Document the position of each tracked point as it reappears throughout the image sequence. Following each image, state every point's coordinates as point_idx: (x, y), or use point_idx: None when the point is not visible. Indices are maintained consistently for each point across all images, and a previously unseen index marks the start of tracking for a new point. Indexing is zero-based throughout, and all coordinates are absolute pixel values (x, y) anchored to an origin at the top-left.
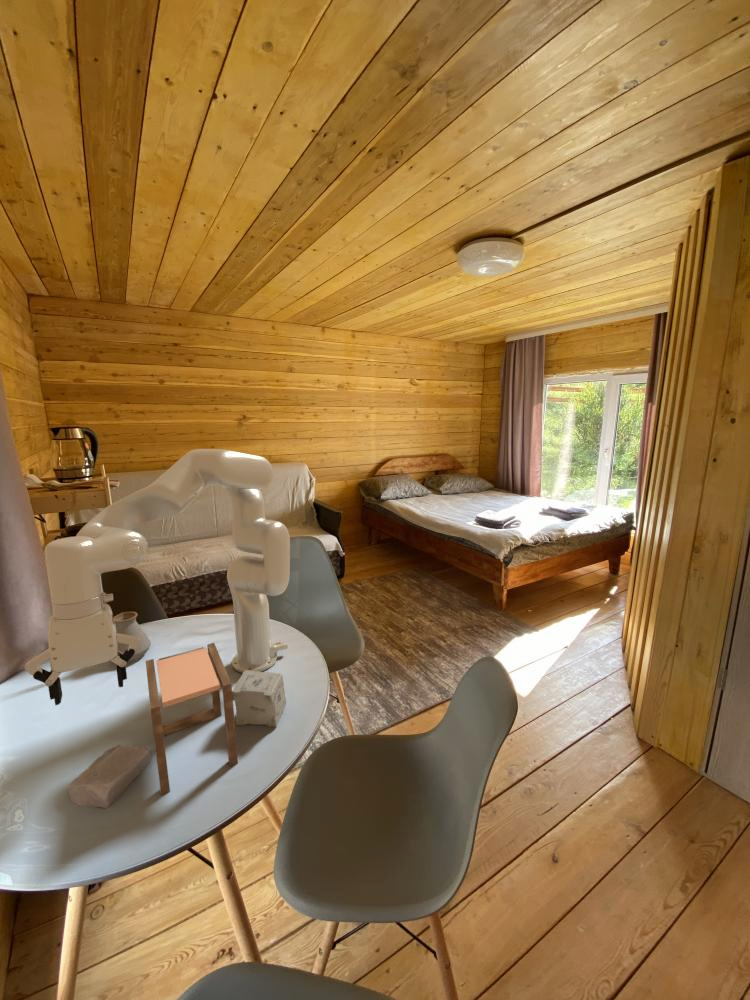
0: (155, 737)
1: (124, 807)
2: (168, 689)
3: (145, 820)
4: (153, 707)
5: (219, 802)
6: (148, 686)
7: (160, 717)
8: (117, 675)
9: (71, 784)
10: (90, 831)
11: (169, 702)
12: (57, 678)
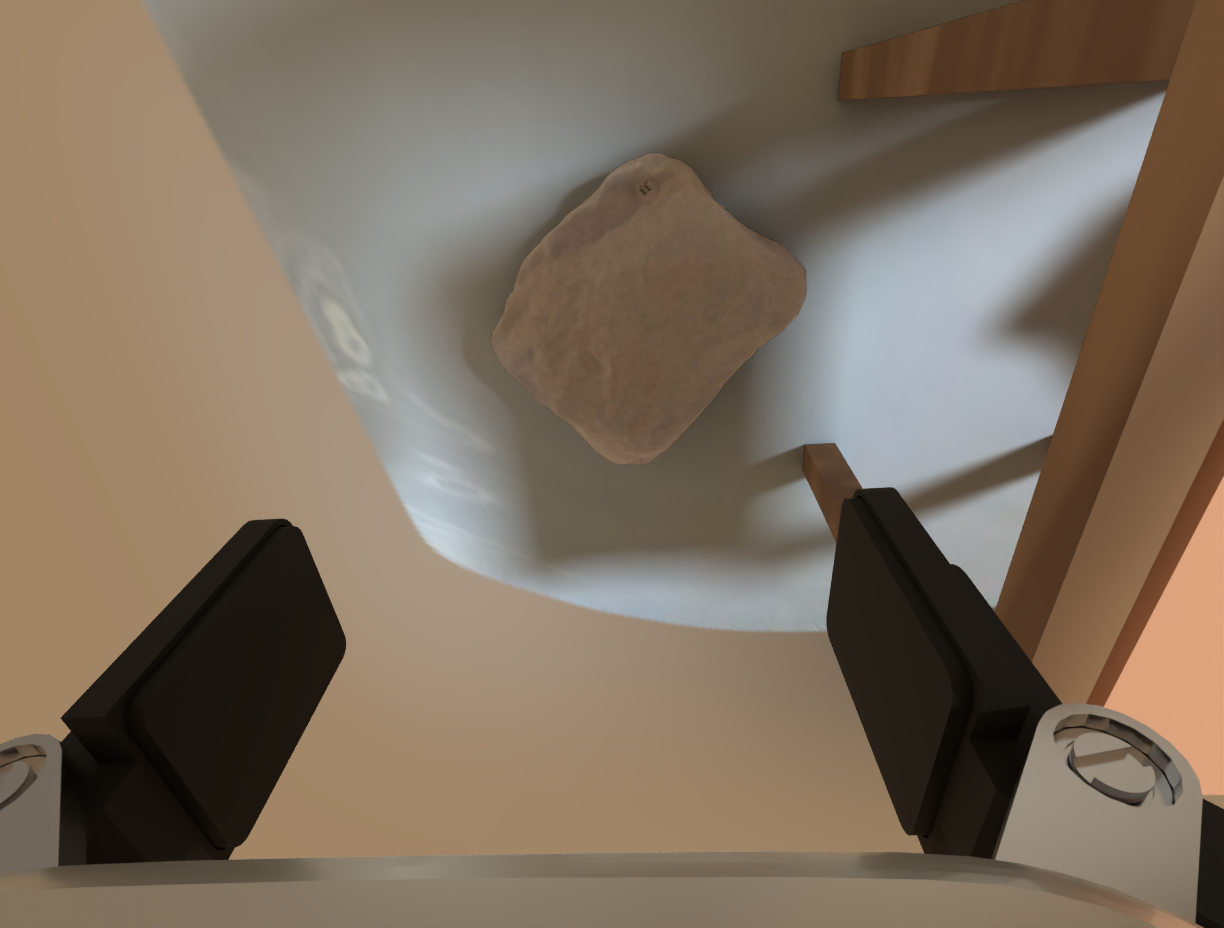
0: None
1: (688, 463)
2: (1167, 700)
3: (746, 535)
4: None
5: None
6: (1055, 605)
7: None
8: (877, 760)
9: (501, 355)
10: (597, 502)
11: None
12: (145, 775)
